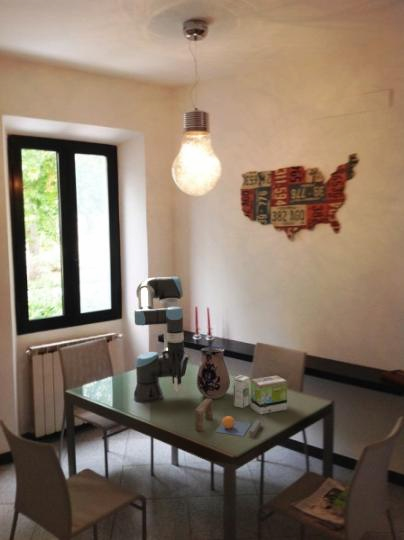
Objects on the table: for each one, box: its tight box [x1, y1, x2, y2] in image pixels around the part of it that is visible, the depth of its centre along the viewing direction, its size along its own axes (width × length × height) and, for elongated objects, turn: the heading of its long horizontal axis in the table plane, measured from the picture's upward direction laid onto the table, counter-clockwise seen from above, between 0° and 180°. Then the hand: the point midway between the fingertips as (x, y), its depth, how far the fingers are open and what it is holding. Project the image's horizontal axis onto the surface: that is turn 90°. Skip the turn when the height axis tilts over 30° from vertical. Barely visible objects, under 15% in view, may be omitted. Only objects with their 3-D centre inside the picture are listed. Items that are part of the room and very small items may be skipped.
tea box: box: [250, 375, 288, 415], centre depth 238 cm, size 15×10×15 cm
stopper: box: [248, 419, 262, 438], centre depth 214 cm, size 2×12×2 cm, turn 159°
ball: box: [221, 415, 235, 429], centre depth 218 cm, size 6×6×6 cm
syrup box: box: [233, 374, 250, 409], centre depth 243 cm, size 6×6×14 cm
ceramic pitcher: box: [196, 345, 231, 400], centre depth 258 cm, size 18×21×25 cm
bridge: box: [194, 398, 214, 432], centre depth 223 cm, size 3×14×9 cm, turn 159°
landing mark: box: [214, 420, 252, 437], centre depth 218 cm, size 13×13×1 cm
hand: (177, 390), depth 226 cm, fingers closed
